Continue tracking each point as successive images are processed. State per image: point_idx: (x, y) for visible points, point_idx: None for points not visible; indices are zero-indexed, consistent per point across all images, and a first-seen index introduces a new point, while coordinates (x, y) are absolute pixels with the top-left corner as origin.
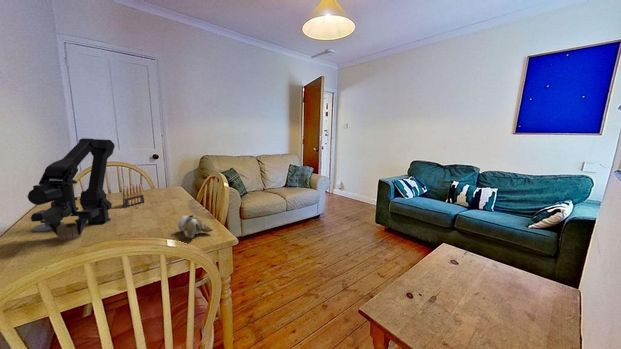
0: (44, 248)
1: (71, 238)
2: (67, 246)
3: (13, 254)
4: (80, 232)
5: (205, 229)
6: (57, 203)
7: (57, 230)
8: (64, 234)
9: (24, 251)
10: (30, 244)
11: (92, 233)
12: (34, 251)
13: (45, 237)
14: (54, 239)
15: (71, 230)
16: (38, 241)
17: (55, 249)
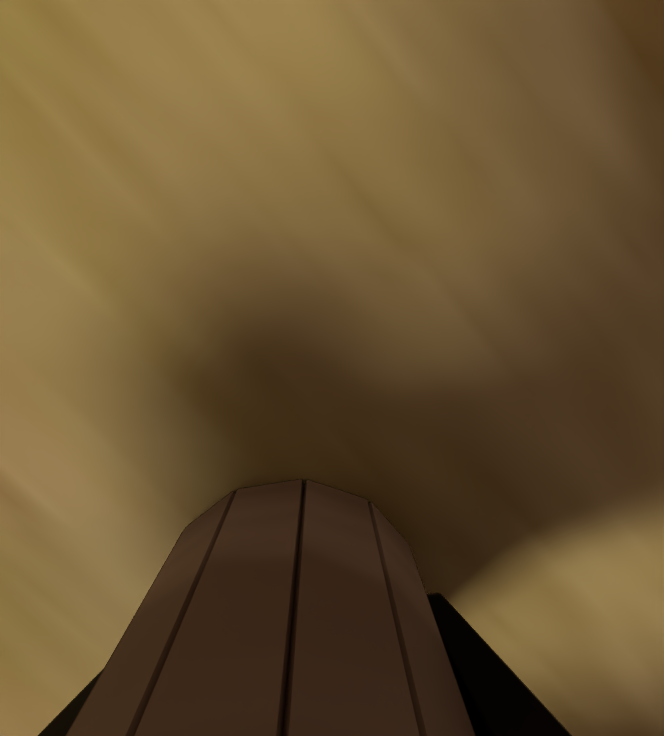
0: (333, 228)
1: (187, 533)
2: (31, 291)
3: (644, 2)
4: None
5: None
6: None
7: (379, 680)
8: (223, 572)
9: (555, 122)
10: (649, 379)
11: None
12: (396, 112)
13: (613, 585)
14: (447, 529)
15: (89, 704)
16: (612, 471)
17: (118, 179)
